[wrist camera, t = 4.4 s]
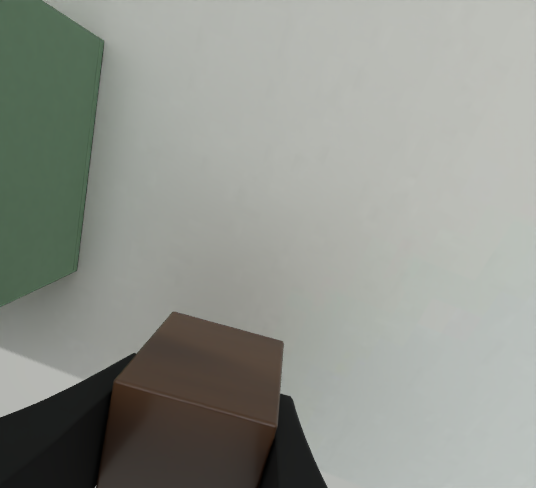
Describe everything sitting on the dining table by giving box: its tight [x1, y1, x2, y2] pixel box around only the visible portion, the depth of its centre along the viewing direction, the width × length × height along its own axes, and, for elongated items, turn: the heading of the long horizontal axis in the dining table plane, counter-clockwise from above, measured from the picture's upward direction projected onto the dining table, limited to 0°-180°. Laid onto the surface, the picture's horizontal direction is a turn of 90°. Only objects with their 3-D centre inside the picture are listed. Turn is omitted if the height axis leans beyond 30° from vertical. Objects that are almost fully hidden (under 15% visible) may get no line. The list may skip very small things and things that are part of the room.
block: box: [96, 312, 284, 488], centre depth 10 cm, size 4×4×4 cm
